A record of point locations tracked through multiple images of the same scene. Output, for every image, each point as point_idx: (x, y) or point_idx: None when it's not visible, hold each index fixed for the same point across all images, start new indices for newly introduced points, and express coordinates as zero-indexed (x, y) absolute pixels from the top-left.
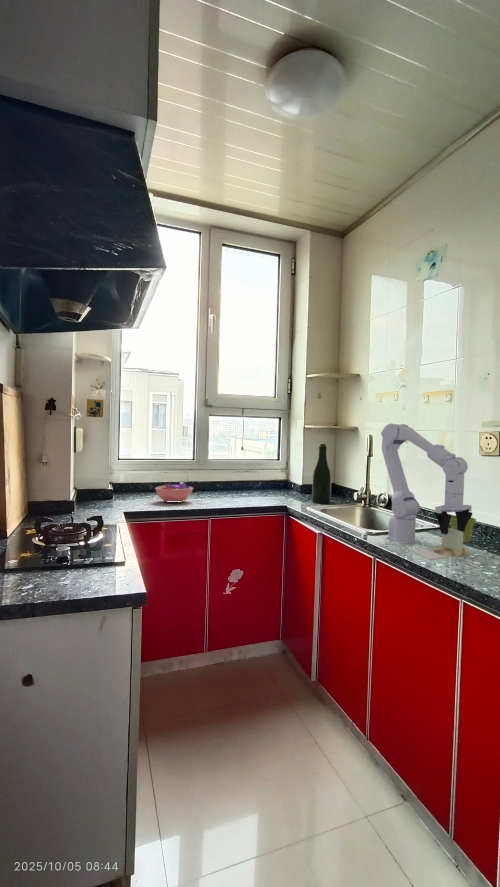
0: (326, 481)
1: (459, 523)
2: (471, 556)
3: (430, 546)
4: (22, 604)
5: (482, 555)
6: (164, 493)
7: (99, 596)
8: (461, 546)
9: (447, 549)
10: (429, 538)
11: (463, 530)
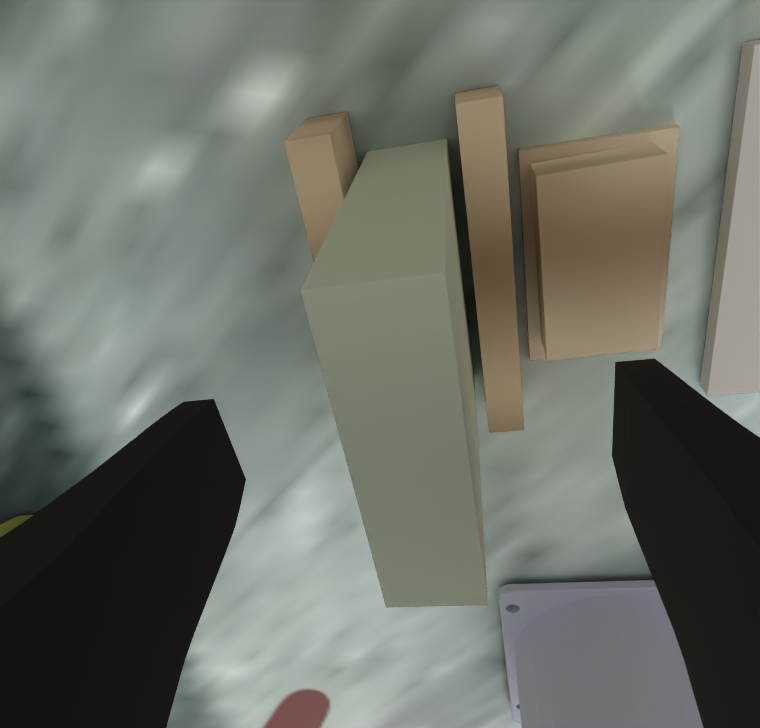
0: None
1: (176, 591)
2: (270, 89)
3: (485, 492)
4: None
5: (90, 108)
6: None
7: None
8: (377, 184)
9: (513, 277)
10: (311, 646)
11: (190, 418)
